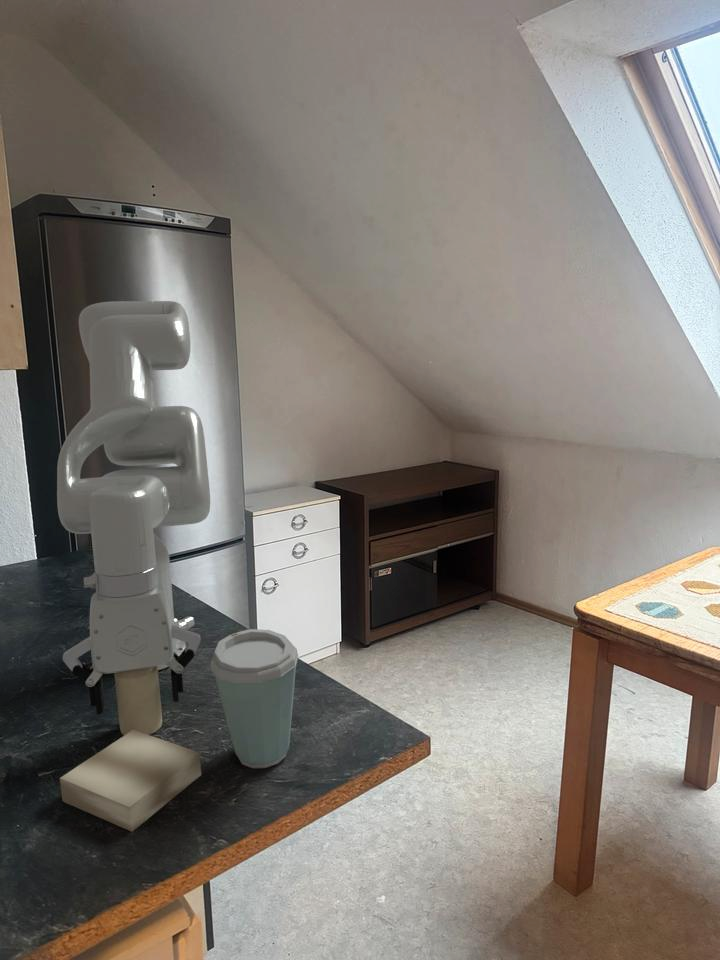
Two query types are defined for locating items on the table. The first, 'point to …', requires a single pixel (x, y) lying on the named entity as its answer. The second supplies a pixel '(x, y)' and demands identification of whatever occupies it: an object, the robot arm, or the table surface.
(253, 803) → the table surface
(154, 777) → the plinth
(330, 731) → the table surface
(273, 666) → the disposable coffee cup
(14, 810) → the table surface
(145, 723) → the candle
